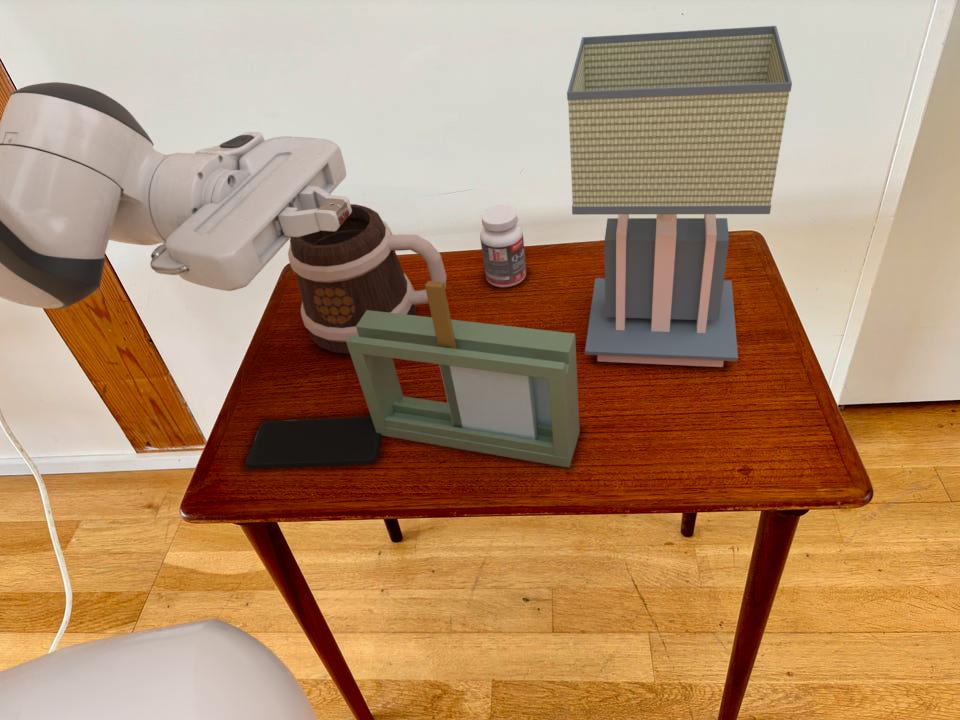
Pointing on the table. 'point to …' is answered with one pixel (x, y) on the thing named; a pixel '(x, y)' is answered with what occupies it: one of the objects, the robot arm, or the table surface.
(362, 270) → the mug
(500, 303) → the table surface
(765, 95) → the desk lamp
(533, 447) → the window frame
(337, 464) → the smartphone
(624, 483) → the table surface
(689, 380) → the table surface
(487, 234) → the pill bottle
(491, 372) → the window pane
